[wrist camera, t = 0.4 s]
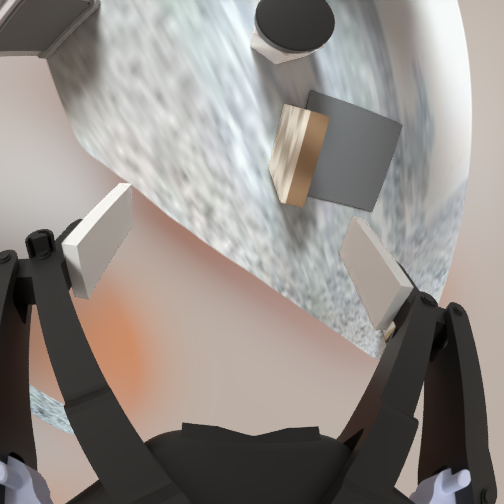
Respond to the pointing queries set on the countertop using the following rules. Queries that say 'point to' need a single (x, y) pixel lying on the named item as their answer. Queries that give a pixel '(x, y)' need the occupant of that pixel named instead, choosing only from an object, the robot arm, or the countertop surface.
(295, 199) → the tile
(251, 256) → the countertop surface
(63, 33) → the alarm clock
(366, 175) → the mat
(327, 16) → the jar
